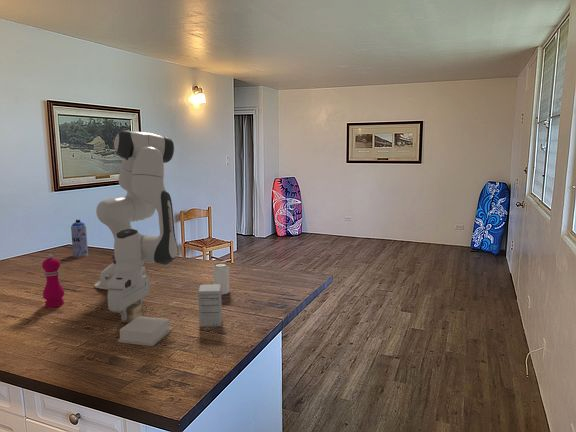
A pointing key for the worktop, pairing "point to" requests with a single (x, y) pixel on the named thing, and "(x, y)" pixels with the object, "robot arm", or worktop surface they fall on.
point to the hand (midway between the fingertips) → (131, 314)
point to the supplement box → (210, 305)
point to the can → (221, 276)
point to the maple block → (133, 312)
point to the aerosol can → (79, 239)
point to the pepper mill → (52, 283)
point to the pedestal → (144, 331)
